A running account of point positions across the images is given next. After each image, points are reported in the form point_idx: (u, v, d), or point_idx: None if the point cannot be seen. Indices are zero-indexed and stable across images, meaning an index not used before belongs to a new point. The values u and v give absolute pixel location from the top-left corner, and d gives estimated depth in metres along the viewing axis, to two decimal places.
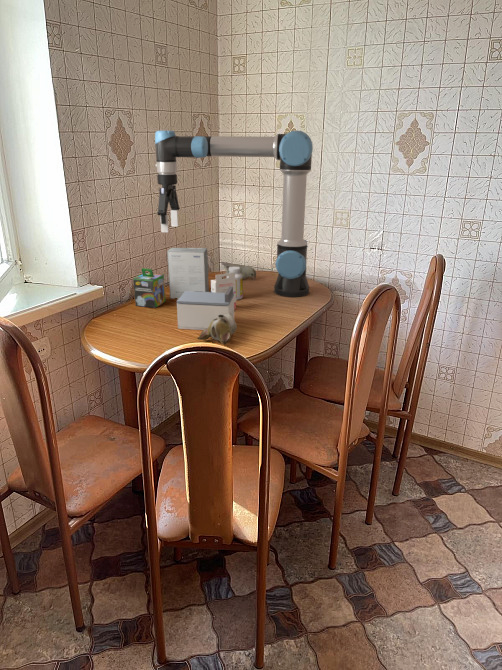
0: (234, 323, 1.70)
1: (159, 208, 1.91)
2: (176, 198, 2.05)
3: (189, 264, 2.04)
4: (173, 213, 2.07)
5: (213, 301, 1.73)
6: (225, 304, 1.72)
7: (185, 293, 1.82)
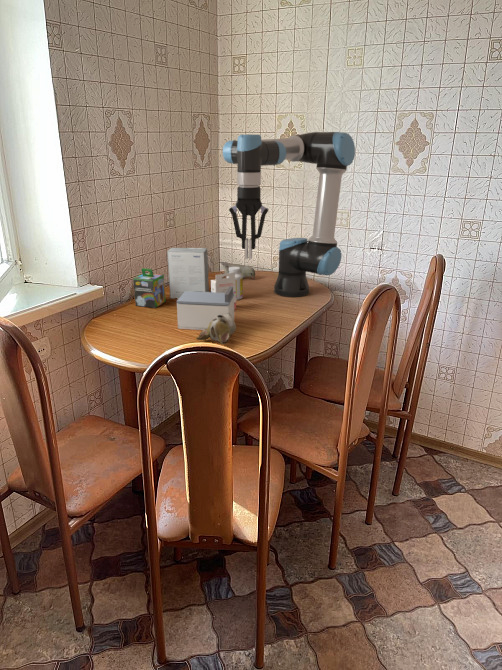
0: (233, 323, 1.70)
1: None
2: (259, 223, 1.65)
3: (189, 264, 2.04)
4: None
5: (213, 301, 1.73)
6: (225, 304, 1.72)
7: (185, 293, 1.82)
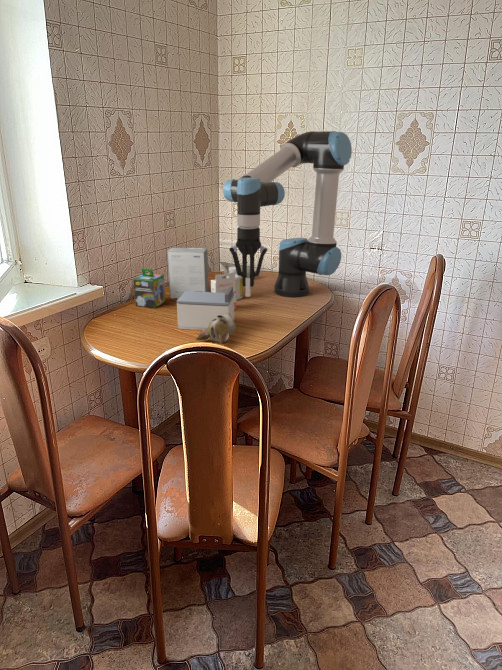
0: (233, 323, 1.69)
1: None
2: (258, 262, 1.70)
3: (189, 264, 2.04)
4: None
5: (213, 301, 1.73)
6: (225, 304, 1.72)
7: (185, 293, 1.82)
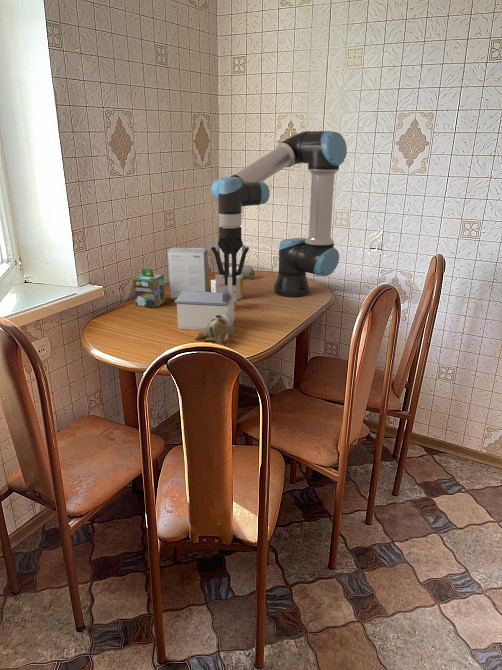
0: (231, 323, 1.70)
1: None
2: (240, 262, 1.71)
3: (189, 264, 2.04)
4: None
5: (211, 301, 1.74)
6: (223, 304, 1.72)
7: (183, 293, 1.82)
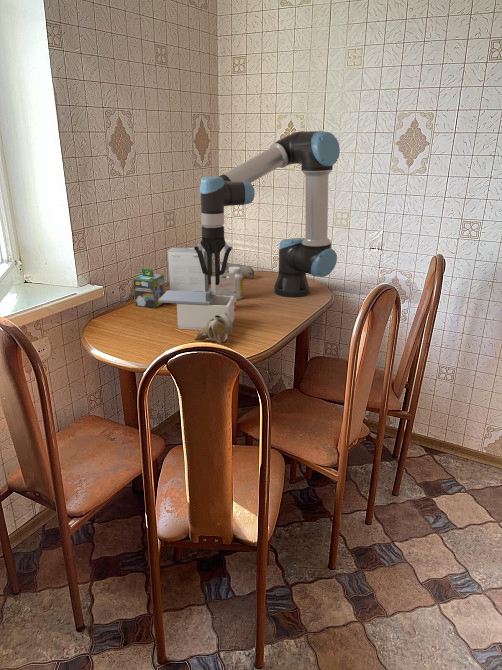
0: (230, 323, 1.70)
1: None
2: None
3: (189, 264, 2.04)
4: None
5: (194, 300, 1.74)
6: (206, 303, 1.73)
7: (167, 292, 1.83)
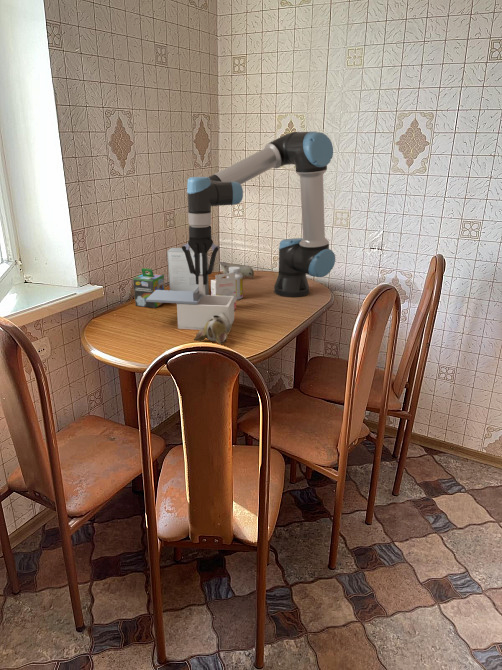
0: (229, 323, 1.70)
1: None
2: (210, 261, 1.72)
3: None
4: None
5: (182, 300, 1.75)
6: (193, 303, 1.73)
7: (155, 292, 1.83)
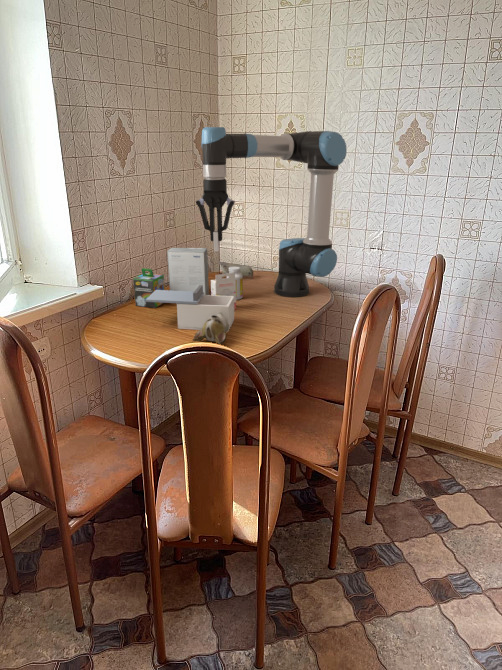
0: (226, 323, 1.70)
1: None
2: None
3: (189, 264, 2.04)
4: None
5: (182, 300, 1.75)
6: (193, 303, 1.73)
7: (155, 292, 1.83)
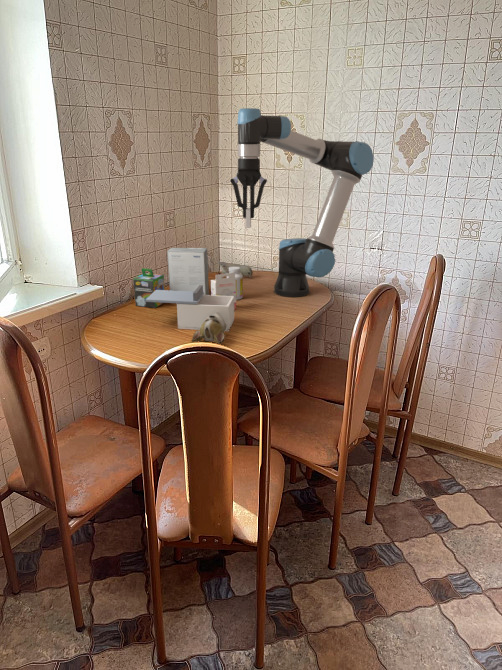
0: (224, 323, 1.70)
1: None
2: (258, 193, 1.76)
3: (189, 264, 2.04)
4: None
5: (182, 300, 1.75)
6: (193, 303, 1.73)
7: (155, 292, 1.83)
